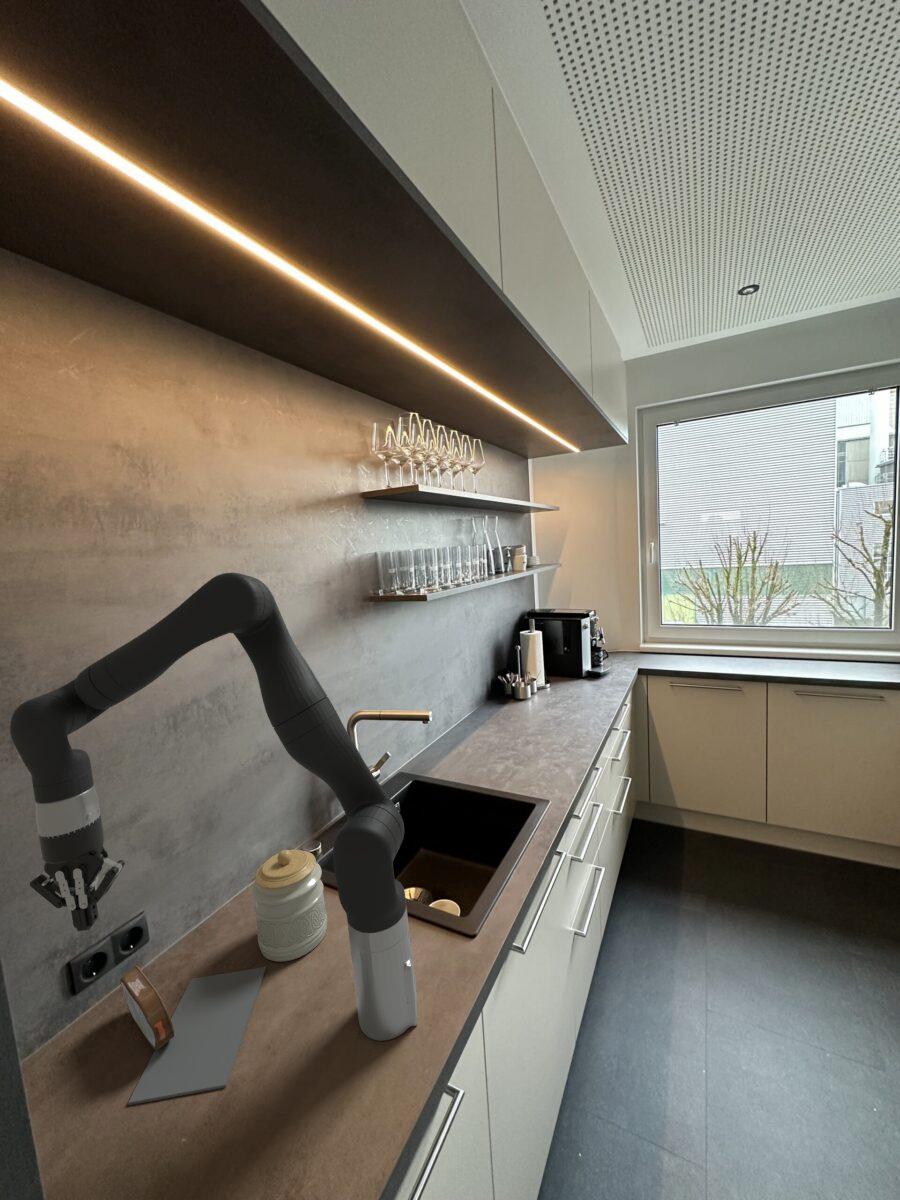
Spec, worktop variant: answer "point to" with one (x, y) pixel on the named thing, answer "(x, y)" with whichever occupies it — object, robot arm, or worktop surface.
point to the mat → (202, 1037)
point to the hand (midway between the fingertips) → (86, 926)
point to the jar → (289, 905)
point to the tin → (147, 1008)
